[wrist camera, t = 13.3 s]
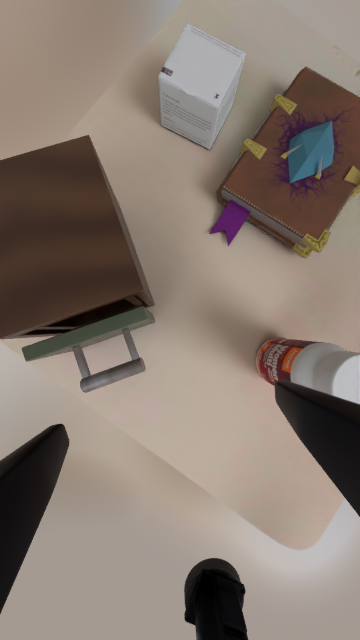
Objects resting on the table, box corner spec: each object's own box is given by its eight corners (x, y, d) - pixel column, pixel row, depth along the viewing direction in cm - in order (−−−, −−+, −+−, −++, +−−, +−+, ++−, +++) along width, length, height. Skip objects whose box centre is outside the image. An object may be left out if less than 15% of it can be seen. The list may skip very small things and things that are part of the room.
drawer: (167, 355, 23) (165, 369, 15) (87, 385, 23) (43, 414, 15) (123, 230, 24) (99, 182, 16) (43, 255, 23) (-23, 219, 15)
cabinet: (154, 304, 24) (144, 290, 15) (69, 334, 24) (-1, 339, 14) (120, 209, 25) (88, 134, 15) (35, 236, 24) (-56, 175, 14)
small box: (233, 105, 26) (248, 51, 21) (209, 152, 26) (219, 108, 20) (184, 79, 26) (187, 18, 21) (159, 126, 25) (155, 75, 20)
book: (193, 229, 26) (197, 204, 21) (285, 96, 27) (309, 43, 22) (293, 293, 25) (321, 283, 20) (382, 153, 27) (429, 111, 22)
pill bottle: (253, 338, 25) (322, 346, 13) (298, 337, 25) (402, 345, 14) (254, 384, 24) (325, 433, 13) (299, 384, 25) (407, 431, 13)
